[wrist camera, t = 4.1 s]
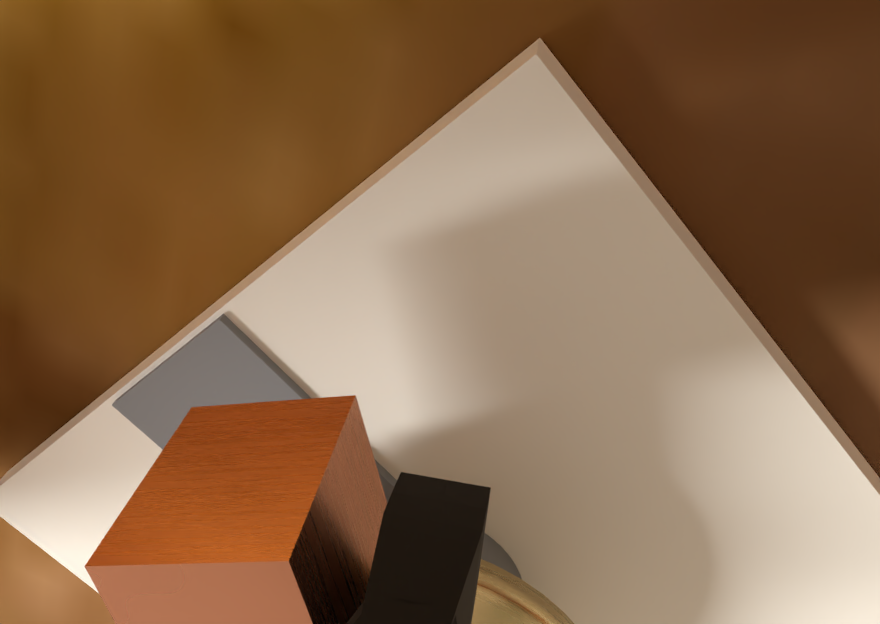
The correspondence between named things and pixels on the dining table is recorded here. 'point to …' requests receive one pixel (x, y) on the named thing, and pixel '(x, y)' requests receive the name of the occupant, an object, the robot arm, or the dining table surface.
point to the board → (520, 379)
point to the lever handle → (266, 525)
